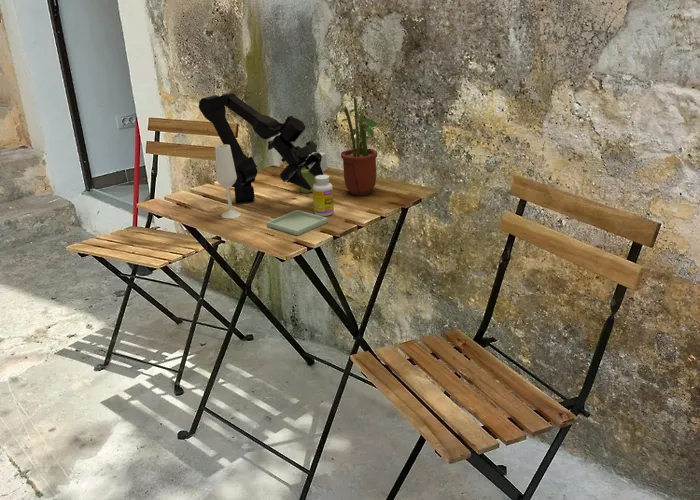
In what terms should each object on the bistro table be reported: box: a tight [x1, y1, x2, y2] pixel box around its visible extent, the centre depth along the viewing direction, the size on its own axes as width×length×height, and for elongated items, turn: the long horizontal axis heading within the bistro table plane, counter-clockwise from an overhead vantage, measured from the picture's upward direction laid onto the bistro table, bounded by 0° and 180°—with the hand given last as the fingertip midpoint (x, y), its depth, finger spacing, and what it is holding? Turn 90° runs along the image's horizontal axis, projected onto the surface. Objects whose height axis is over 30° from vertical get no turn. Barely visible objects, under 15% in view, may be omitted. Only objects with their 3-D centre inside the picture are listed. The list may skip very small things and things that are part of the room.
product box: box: [309, 151, 328, 173], centre depth 266 cm, size 6×6×7 cm
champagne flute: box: [214, 144, 242, 219], centre depth 219 cm, size 7×7×24 cm
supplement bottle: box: [312, 174, 335, 217], centre depth 219 cm, size 7×7×13 cm
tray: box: [266, 209, 329, 237], centre depth 212 cm, size 14×14×2 cm
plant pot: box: [299, 168, 316, 194], centre depth 243 cm, size 9×9×9 cm
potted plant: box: [334, 96, 379, 196], centre depth 235 cm, size 17×16×35 cm
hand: (317, 185), depth 218 cm, fingers open, 9 cm apart
